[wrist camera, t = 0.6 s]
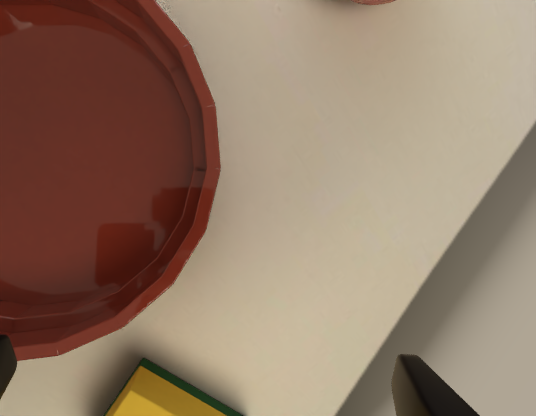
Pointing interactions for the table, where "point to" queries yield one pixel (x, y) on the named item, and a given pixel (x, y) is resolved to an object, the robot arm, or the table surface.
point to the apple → (373, 1)
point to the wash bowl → (97, 166)
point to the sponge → (163, 396)
